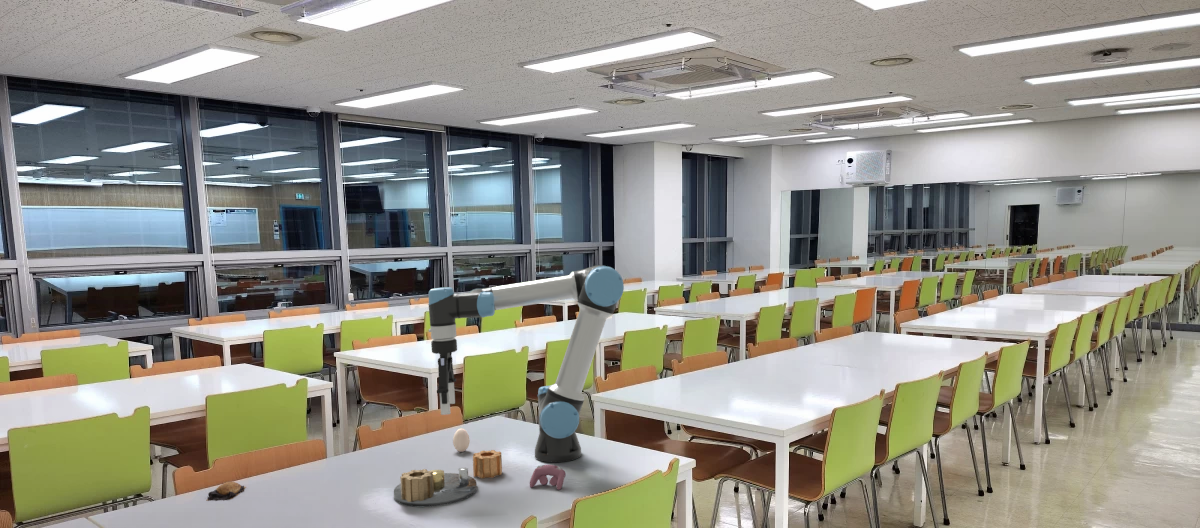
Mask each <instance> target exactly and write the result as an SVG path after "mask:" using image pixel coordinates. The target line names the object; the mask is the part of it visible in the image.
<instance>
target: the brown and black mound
mask: <svg viewBox="0 0 1200 528" xmlns="http://www.w3.org/2000/svg"><path fill="white" fill-rule="evenodd" d="M246 488H247V486H246V485H245V486H244V485H241V484H240V483H238V482H236V481H227V482H224V483H222V484H220V485H219V486H217V487H216V488H215V490H213V491H210V492H208V493H207V494H208V498H207V499H206V501H227V500H233V499H234V498H236V497H237V496H239V495H240V494H241V493H243V492H244V491H245V489H246Z"/></svg>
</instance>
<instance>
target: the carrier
mask: <svg viewBox="0 0 1200 528" xmlns="http://www.w3.org/2000/svg"><path fill="white" fill-rule="evenodd" d="M399 480H400V482H399V484H397V485H396V486H395V487H394V489H393V499H394V501H396V503H399V504H401V505H404V506H410V507H420V508H421V507H422V508H427V507H428V508H429V507H437V506H445V505H450V504H453V503H457V502H460V501H463V500H466V499H467V498H469V497H471V496H472V495H474V494H475V493H476V492H477V489H478V488H477V487H478V486H477V480H476V479H475V478H474V477H472V476H470V475H469V468H467V467H461V468H459V469H458V473H455V472H454V473H453V472H445V470H443V469H431V470H428V469H425V468H424V469H417V470H416V469H411V470H410V471H407V472H402V473H401V476H400V479H399Z"/></svg>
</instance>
